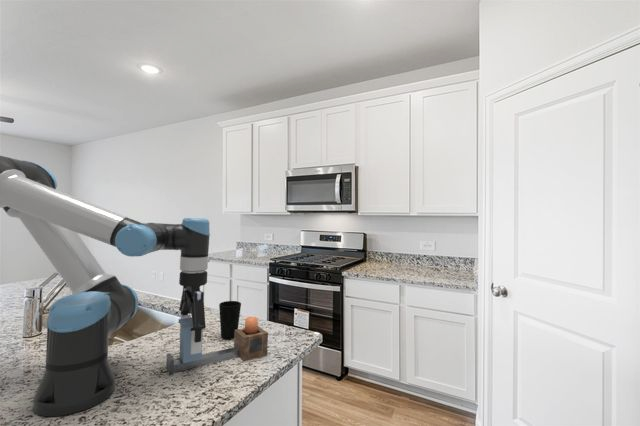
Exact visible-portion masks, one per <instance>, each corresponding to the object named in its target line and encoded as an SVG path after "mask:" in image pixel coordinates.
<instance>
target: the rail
mask: <svg viewBox="0 0 640 426" xmlns="http://www.w3.org/2000/svg"><path fill="white" fill-rule="evenodd" d="M236 358H240V357H239V350H238V349H237V348H236V347H234V346H233V347H231V348H225V349H221V350H217V351H212V352H208V353H202V359H200V360H196V361H191V362H187V363H183V362H182V360H181V359H180V358H179V359H174V357H173V355H172V353H171V352H168V353H166V361H165V363H166V368H165V369H166V370H167V373H168V375H169V376H174V373H177V372H181V371H182V372H183V371H186V370H191V369H194V368H197V367H198V368H199V367H202V366H207V365H211V364H214V363H218V362H223V361H228V360H231V359H236Z"/></svg>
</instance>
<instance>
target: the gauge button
mask: <svg viewBox="0 0 640 426" xmlns="http://www.w3.org/2000/svg"><path fill="white" fill-rule="evenodd" d="M258 320H259V318H258V317H256V316H247V317H246V318H245V319H244V328H245V333H247V334H253V333H256V332H257V330H258V326H259V323H258V322H259V321H258Z"/></svg>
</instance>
